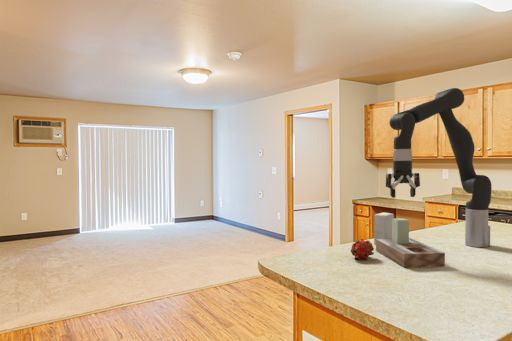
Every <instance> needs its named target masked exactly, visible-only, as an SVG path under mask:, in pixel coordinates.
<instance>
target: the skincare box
mask: <svg viewBox="0 0 512 341" xmlns="http://www.w3.org/2000/svg"><path fill="white" fill-rule="evenodd" d="M394 218H395V214H394V213H390V212H383V211H382V212H380V213H376V214H374V216H373V219H374V222H373V227H374V228H373V231H374V232H373V244H374V245H376V239H392V219H394Z"/></svg>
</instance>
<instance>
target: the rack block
mask: <svg viewBox="0 0 512 341" xmlns="http://www.w3.org/2000/svg"><path fill="white" fill-rule="evenodd" d="M375 251H376V253H379V254H380V255H382V256H383V257H385V258H388V259H389V260H390V261H391V262H393V263H395V264H397V265H399V266H400V267H402V268H403V269H405V268H406V269H408V268H410V269H411V268H413V269H414V268H415V269H416V268H437V267H439V268H441V267H443V268H444V267H446V252H444V251H442V250H439V249H437V248H435V247H433V246H430V245H428V244H425V243H424V242H423V243H422V242H421V241H418V240H416V239H413V238H411V237H409V244H396V243H394V242H392V239H376V244H375Z"/></svg>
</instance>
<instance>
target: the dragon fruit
mask: <svg viewBox="0 0 512 341" xmlns="http://www.w3.org/2000/svg"><path fill="white" fill-rule="evenodd" d="M374 250H375V248H374V247H373V243H372V242H370V240H364V239H363V238H361V239H360V240H356V241H355V242H354V243H352V245H351V249H350V253H351V254H352V256H354V260H361V259H364V260H368V259H369V258H370V256H372V255H373V256H374V254H375V252H373V251H374Z"/></svg>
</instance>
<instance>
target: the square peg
mask: <svg viewBox="0 0 512 341" xmlns="http://www.w3.org/2000/svg"><path fill="white" fill-rule="evenodd" d="M409 238H410V220H409V219H406V218H403V217H402V218H399V217H398V218H395V217H394V219H392V242H394V243H396V244H409Z"/></svg>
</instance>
